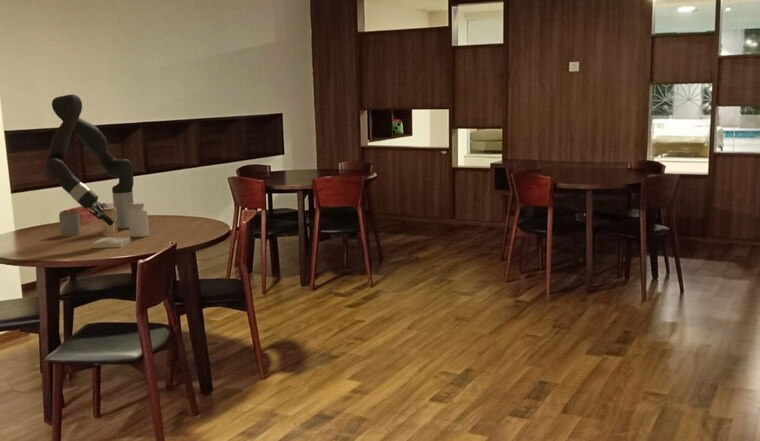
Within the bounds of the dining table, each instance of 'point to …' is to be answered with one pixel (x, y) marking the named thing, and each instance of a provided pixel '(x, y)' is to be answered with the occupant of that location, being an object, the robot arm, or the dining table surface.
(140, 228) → the pill bottle
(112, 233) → the maple block
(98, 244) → the block
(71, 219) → the cup
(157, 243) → the dining table surface
